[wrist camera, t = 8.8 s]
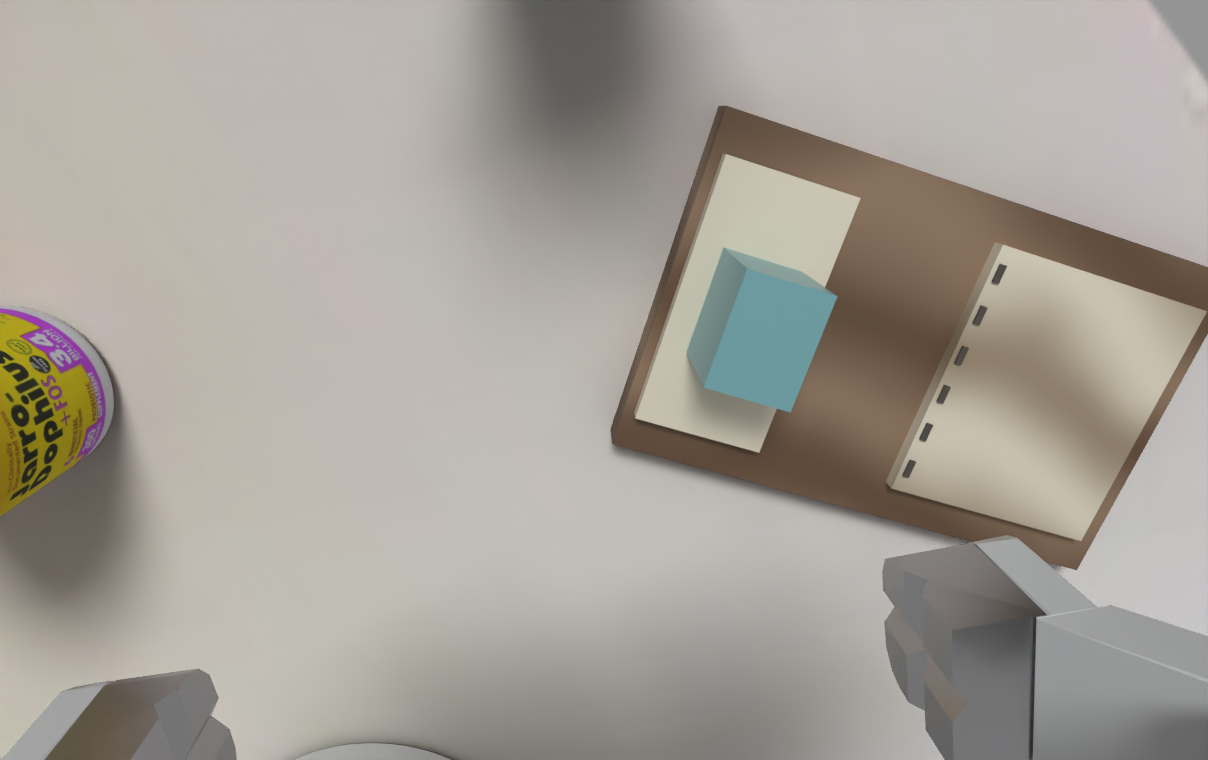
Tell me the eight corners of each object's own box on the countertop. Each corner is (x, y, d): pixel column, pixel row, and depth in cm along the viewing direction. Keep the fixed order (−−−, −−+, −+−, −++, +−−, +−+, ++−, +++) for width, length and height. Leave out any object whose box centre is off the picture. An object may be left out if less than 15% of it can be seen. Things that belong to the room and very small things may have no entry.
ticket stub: (755, 446, 32) (785, 500, 27) (634, 412, 31) (644, 462, 27) (854, 196, 29) (905, 211, 24) (722, 153, 28) (751, 161, 24)
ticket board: (1056, 551, 36) (1086, 579, 33) (610, 429, 33) (613, 451, 31) (1208, 270, 32) (1254, 281, 30) (718, 106, 29) (730, 105, 27)
